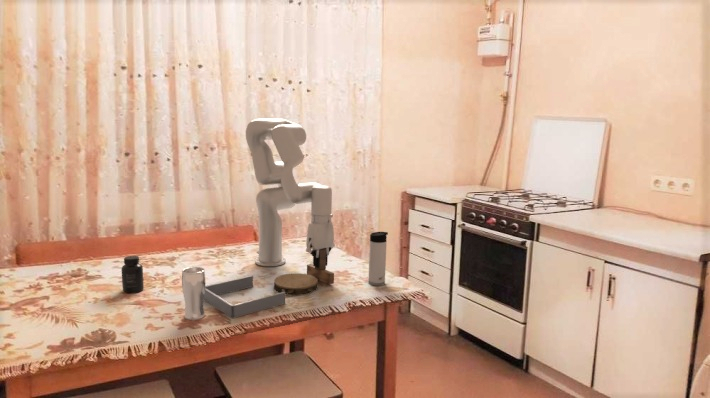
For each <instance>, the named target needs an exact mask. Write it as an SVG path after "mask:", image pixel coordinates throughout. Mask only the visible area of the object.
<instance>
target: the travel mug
mask: <svg viewBox="0 0 710 398" xmlns="http://www.w3.org/2000/svg"><path fill="white" fill-rule="evenodd" d="M388 234H389V233H388V232H387V231H376V232H375V231H374V232H371V234H369V252H368V254H369V256H368V258H369V259H368V260H369V261H368V281H367V282H368V284H369V285H371V286H377V287H379V286H380V287H381V286H384V285H385V283H386V265H387V263H386V261H387V235H388Z"/></svg>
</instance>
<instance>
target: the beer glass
mask: <svg viewBox="0 0 710 398" xmlns="http://www.w3.org/2000/svg"><path fill="white" fill-rule="evenodd" d="M181 272H182V273H181V289H182V294H183V298H184V303H185V304H184V305H185V310H184V318H185V319H186V320H190V321H195V320H200V319H203V318H204V317H205V316H206V315H205V313H206V312H205V309H204V301H205V300H204V294H205V286H206V272H205V268H204V267H200V266H191V267H190V266H189V267H186V268H183V269H182V271H181Z"/></svg>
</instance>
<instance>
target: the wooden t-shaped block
mask: <svg viewBox="0 0 710 398" xmlns="http://www.w3.org/2000/svg"><path fill="white" fill-rule="evenodd" d="M315 253H316V251H315ZM319 257H320V267H319V268H317V267H315V266H313V263H309V264H307V265H306V274H308V275H312V276H314V277H316V278H317V280H318V281H320V282H323V283H326V284H328V285H332V284H335V273H334V272H332V271H330V270H327V266H326V249H325V248H324V249H319Z"/></svg>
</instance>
